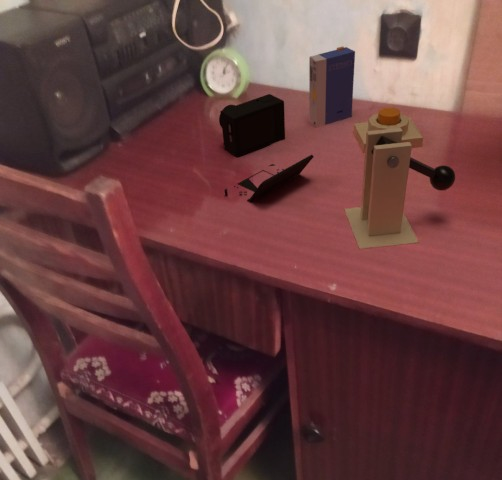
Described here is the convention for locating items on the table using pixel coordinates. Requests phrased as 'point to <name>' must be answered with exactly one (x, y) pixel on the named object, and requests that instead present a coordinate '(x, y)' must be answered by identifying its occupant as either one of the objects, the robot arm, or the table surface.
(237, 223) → the table surface
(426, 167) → the switch lever
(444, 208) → the table surface
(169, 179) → the table surface
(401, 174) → the switch bracket
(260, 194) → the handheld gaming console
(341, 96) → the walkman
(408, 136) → the button block
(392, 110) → the button
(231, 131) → the digital camera
